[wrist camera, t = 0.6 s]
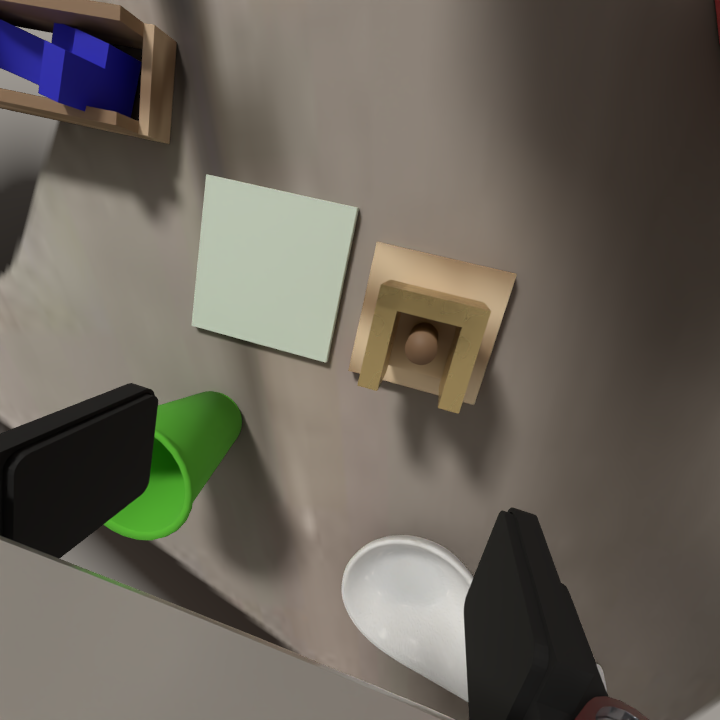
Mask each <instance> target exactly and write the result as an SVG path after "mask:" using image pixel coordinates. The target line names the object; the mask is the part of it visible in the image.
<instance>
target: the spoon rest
mask: <svg viewBox="0 0 720 720" xmlns="http://www.w3.org/2000/svg"><path fill="white" fill-rule="evenodd" d="M473 578H474V577H473V576H472V574H471V573H470V572H469V570H468V569H467V568H466V567H465V565H464V564H463V563H462V562H461V561H460V560H459V559H458V558H457V557H456V556H455V555H454V554H453V553H452V552H450V551H449V550H448V549H446V548H445V547H443V546H441V545H439V544H438V543H436V542H433V541H431V540H428V539H425V538H421V537H417V536H411V535H394V536H387V537H383V538H379V539H376V540H374V541H372V542H370V543H368V544H367V545H365V546H364V547H362V548H361V549H360V550H359V551H358V552H357V553H356V554H355V555H354V556H353V557H352V558H351V559H350V561H349V563H348V564H347V566H346V568H345V571H344V574H343V579H342V585H341V590H342V598H343V602H344V605H345V608H346V610H347V612H348V614H349V616H350V618H351V619H352V621H353V622H354V624H355V625H356V627H357V628H358V629H359V630H360V631H361V633H362V634H363V635H364V636H365V637H366V638H367V639H368V640H369V641H370V642H371V643H373V644H374V645H375V646H376V647H378V648H379V649H380V650H382V651H383V652H384V653H386V654H387V655H389V656H390V657H392V658H393V659H395V660H396V661H398V662H400V663H401V664H403V665H405V666H406V667H408V668H410V669H412V670H414V671H415V672H417V673H419V674H421V675H422V676H424V677H426V678H427V679H429V680H431V681H433V682H434V683H436V684H438V685H439V686H441V687H443V688H445V689H446V690H448V691H450V692H451V693H453V694H455V695H457V696H458V697H460V698H462V699H464V700H465V701H467V702H468V686H467V667H466V649H465V630H464V603H465V598H466V595H467V593H468V590H469V588H470V585H471V583H472V580H473ZM596 665H597V668H598V670H599V673H600V676H601V678H602V681H603V684H604V686H605V689H606V682H605V678H604V673H603V669H602V668H601V666H600V665H598V664H596ZM606 692H607V689H606Z"/></svg>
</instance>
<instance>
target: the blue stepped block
mask: <svg viewBox="0 0 720 720" xmlns="http://www.w3.org/2000/svg"><path fill="white" fill-rule="evenodd" d="M141 63H142V62H141V61H139V60H137V59H135V58H133V57H132V56H130V55H128V54H126V53H124V52H123V51H121V50H119V49H117V48H115V47H114V46H112V45H110V44H108V43H106V42H104V41H102V40H100V39H97V38H95V37H93V36H91V35H89V34H87V33H85V32H83V31H80V30H78V29H74V28H72V27H69V26H67V25H65V24H59V23H54V27H53V35H52V43H50V42H48V41H45V40H43V39H41V38H39V37H37V36H35V35H32V34H30V33H28V32H26V31H24V30H22V29H20V28H18V27H16V26H14V25H11V24H9V23H7V22H5V21H3V20H1V19H0V68H2V69H4V70H6V71H9V72H11V73H13V74H16V75H18V76H20V77H22V78H25V79H27V80H29V81H31V82H33V83H35V84H38V85H39V92H38V93H39V94H41V95H44V96H46V97H48V98H50V99H52V100H54V101H56V102H58V103H61V104H64V105H67V106H70V107H73V108H76V109H79V110H82V111H84V112H85V109H86V106H89V107H94V108H99V109H104V110H109V111H114V112H118V113H120V114H122V115H125V116H127V117H129V118H131V114H132V109H133V104H134V99H135V94H136V89H137V84H138V79H139V73H140V68H141Z"/></svg>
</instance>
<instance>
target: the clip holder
mask: <svg viewBox="0 0 720 720" xmlns="http://www.w3.org/2000/svg"><path fill="white" fill-rule="evenodd" d="M0 19H1V20H3V21H5V22H7V23H9V24H11V25H14V26H18V27H23V28H29V29H34V30H40V31H45V32H51V33H53V27H54V23H59V24H65V25H67V26H69V27H72V28H74V29H78V30H80V31H83V32H85V33H87V34H89V35H91V36H93V37H95V38H97V39H100V40H102V41H104V42H106V43H112V44H117V45H123V46H128V47H134V48H139V49H143V51H142V71H141V90H140V109H139V121H136V120H134V119H132V118H129V117H127V116H125V115H122V114H120V113H118V112H114V111H109V110H104V109H99V108H94V107H89V106H86V109H85V112H84V111H82V110H79V109H76V108H73V107H70V106H67V105H64V104H61V103H58V102H56V101H54V100H52V99H50V98H46V97H40V96H35V95H31V94H26V93H21V92H16V91H12V90H6V89H2V88H0V108H2V109H7V110H11V111H16V112H21V113H26V114H30V115H35V116H40V117H44V118H49V119H53V120H58V121H63V122H68V123H72V124H77V125H82V126H86V127H91V128H96V129H100V130H105V131H110V132H115V133H119V134H124V135H129V136H133V137H138V138H143V139H147V140H152V141H157V142H162V143H166V144H169V143H170V129H171V116H172V102H173V88H174V74H175V60H176V46H177V42H176V41H174V40H173V39H172V38H170V37H169V36H168V35H167V34H165V33H164V32H163V31H161V30H160V29H159V28H158V27H156V26H155V25H151V24H145V23H143V22H142V21H140V20H139V19H138V18H136V17H135V16H134V15H132V14H131V13H130V12H128V11H127V10H126V9H124V8H123V7H122V6H120V5H114V4H108V3H102V2H96V1H90V0H0Z"/></svg>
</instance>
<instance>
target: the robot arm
mask: <svg viewBox="0 0 720 720" xmlns="http://www.w3.org/2000/svg"><path fill="white" fill-rule="evenodd" d="M157 409H158V399H157V397H156V396H155V395H154V392H153V391H152V390H151V389H148V388H145V387H142V386H139V385H136V384H133V383H130V384H126V385H124V386H121V387H119V388H116V389H114V390H111V391H109V392H106V393H103V394H101V395H98V396H96V397H93V398H91V399H88V400H85V401H83V402H80V403H78V404H75V405H73V406H70V407H67V408H65V409H62V410H60V411H57V412H55V413H52V414H49V415H47V416H44V417H42V418H39V419H37V420H34V421H32V422H29V423H26V424H24V425H21V426H19V427H16V428H14V429H11V430H8V431H6V432H3V433H1V434H0V720H455V719H453V718H451V717H448V716H446V715H444V714H442V713H440V712H437V711H435V710H433V709H431V708H428V707H426V706H423V705H421V704H418V703H416V702H413V701H411V700H408V699H406V698H404V697H401V696H399V695H396V694H394V693H392V692H389V691H387V690H385V689H382V688H380V687H378V686H375V685H373V684H370V683H368V682H366V681H363V680H361V679H358V678H356V677H353V676H351V675H348V674H346V673H343V672H341V671H339V670H336V669H334V668H331V667H329V666H326V665H324V664H321V663H319V662H316V661H314V660H312V659H309V658H307V657H304V656H302V655H299V654H297V653H294V652H292V651H289V650H287V649H284V648H282V647H280V646H277V645H274V644H272V643H270V642H267V641H265V640H262V639H260V638H257V637H255V636H253V635H250V634H248V633H245V632H243V631H240V630H237V629H235V628H233V627H230V626H227V625H225V624H223V623H220V622H217V621H215V620H213V619H210V618H207V617H205V616H203V615H200V614H198V613H195V612H193V611H190V610H187V609H185V608H182V607H180V606H178V605H175V604H173V603H170V602H168V601H165V600H162V599H160V598H157V597H155V596H153V595H150V594H147V593H145V592H142V591H140V590H137V589H135V588H132V587H130V586H127V585H125V584H122V583H119V582H117V581H115V580H112V579H110V578H107V577H105V576H102V575H100V574H97V573H94V572H92V571H89V570H87V569H84V568H82V567H79V566H77V565H74V564H71V563H69V562H66V561H64V560H61V559H59V558H61V557H62V556H63V555H64V554H66V553H67V552H68V551H70V550H71V549H72V548H73V547H75V546H76V545H77V544H79V543H80V542H81V541H83V540H84V539H85V538H86V537H88V536H89V535H90V534H92V533H93V532H94V531H95V530H97V529H98V528H99V527H101V526H102V525H103V524H105V523H106V522H107V521H108V520H110V519H111V518H112V517H114V516H115V515H116V514H118V513H119V512H120V511H121V510H123V509H124V508H125V507H127V506H128V505H129V504H130V503H132V502H133V501H134V500H136V499H137V498H138V497H139V496H141V495H142V494H143V493H144V492H145V490H146V488H147V487H148V484H149V480H150V471H151V462H152V453H153V444H154V436H155V427H156V418H157ZM464 630H465V649H466V667H467V686H468V704H469V720H649V719H648V718H646V717H645V716H644V715H643V714H641V713H640V712H639V711H637V710H636V709H635V708H633V707H631V706H629V705H627V704H626V703H624V702H622V701H620V700H617V699H614V698H610V697H608V694H607V692H606V689H605V686H604V684H603V681H602V678H601V676H600V673H599V670H598V668H597V665H596V662H595V660H594V657H593V654H592V652H591V649H590V646H589V644H588V641H587V638H586V636H585V633H584V631H583V628H582V625H581V623H580V620H579V617H578V615H577V612H576V609H575V607H574V604H573V601H572V599H571V596H570V593H569V591H568V589H567V587H566V586H565V585H564V584H562V583H561V582H560V579H559V576H558V574H557V571H556V568H555V565H554V562H553V560H552V557H551V554H550V551H549V549H548V546H547V543H546V540H545V538H544V535H543V532H542V529H541V526H540V524H539V521H538V518H537V516H536V515H534V514H531V513H528V512H525V511H522V510H519V509H515V508H510V509H509V510H508V512H505V511H501V512H500V513H499V515H498V517H497V520H496V522H495V525H494V527H493V530H492V532H491V535H490V537H489V540H488V542H487V545H486V547H485V550H484V553H483V555H482V558H481V560H480V563H479V565H478V568H477V570H476V573H475V575H474V578H473V580H472V583H471V585H470V588H469V590H468V593H467V595H466V598H465V603H464Z"/></svg>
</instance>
